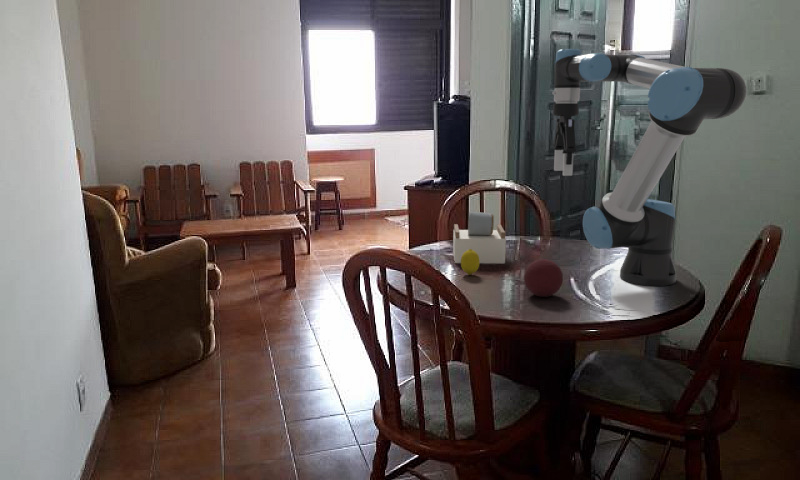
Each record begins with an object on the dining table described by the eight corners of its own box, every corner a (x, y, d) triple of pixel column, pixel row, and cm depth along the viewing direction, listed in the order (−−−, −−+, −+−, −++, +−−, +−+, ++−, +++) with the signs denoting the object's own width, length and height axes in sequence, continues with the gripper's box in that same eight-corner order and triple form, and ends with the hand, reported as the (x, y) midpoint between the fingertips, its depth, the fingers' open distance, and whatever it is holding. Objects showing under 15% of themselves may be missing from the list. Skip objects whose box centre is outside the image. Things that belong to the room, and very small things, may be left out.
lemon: (456, 275, 187) (457, 249, 185) (468, 271, 191) (468, 246, 189) (471, 278, 184) (472, 252, 182) (482, 274, 188) (483, 248, 186)
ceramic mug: (493, 237, 201) (494, 213, 199) (468, 237, 201) (468, 213, 200) (491, 231, 211) (492, 208, 210) (467, 231, 212) (467, 208, 210)
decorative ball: (530, 288, 174) (532, 253, 172) (566, 293, 169) (568, 257, 167) (518, 298, 165) (519, 261, 163) (555, 304, 160) (557, 266, 158)
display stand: (505, 263, 200) (505, 232, 198) (454, 263, 201) (455, 232, 199) (500, 253, 214) (501, 224, 212) (453, 252, 215) (453, 224, 213)
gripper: (546, 102, 202) (543, 168, 207) (562, 102, 178) (558, 177, 182) (569, 102, 202) (566, 168, 206) (589, 102, 178) (584, 177, 182)
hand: (562, 173), depth 194 cm, fingers open, 13 cm apart
